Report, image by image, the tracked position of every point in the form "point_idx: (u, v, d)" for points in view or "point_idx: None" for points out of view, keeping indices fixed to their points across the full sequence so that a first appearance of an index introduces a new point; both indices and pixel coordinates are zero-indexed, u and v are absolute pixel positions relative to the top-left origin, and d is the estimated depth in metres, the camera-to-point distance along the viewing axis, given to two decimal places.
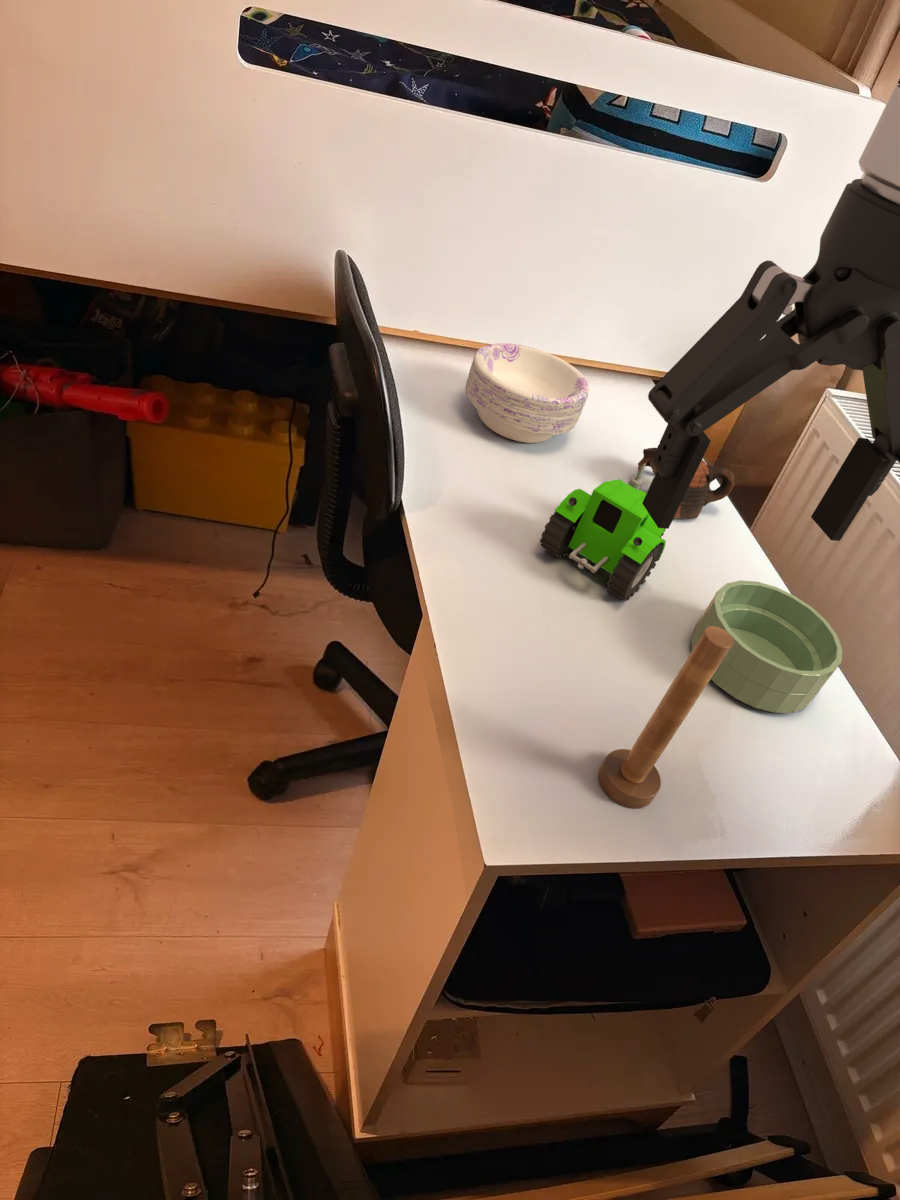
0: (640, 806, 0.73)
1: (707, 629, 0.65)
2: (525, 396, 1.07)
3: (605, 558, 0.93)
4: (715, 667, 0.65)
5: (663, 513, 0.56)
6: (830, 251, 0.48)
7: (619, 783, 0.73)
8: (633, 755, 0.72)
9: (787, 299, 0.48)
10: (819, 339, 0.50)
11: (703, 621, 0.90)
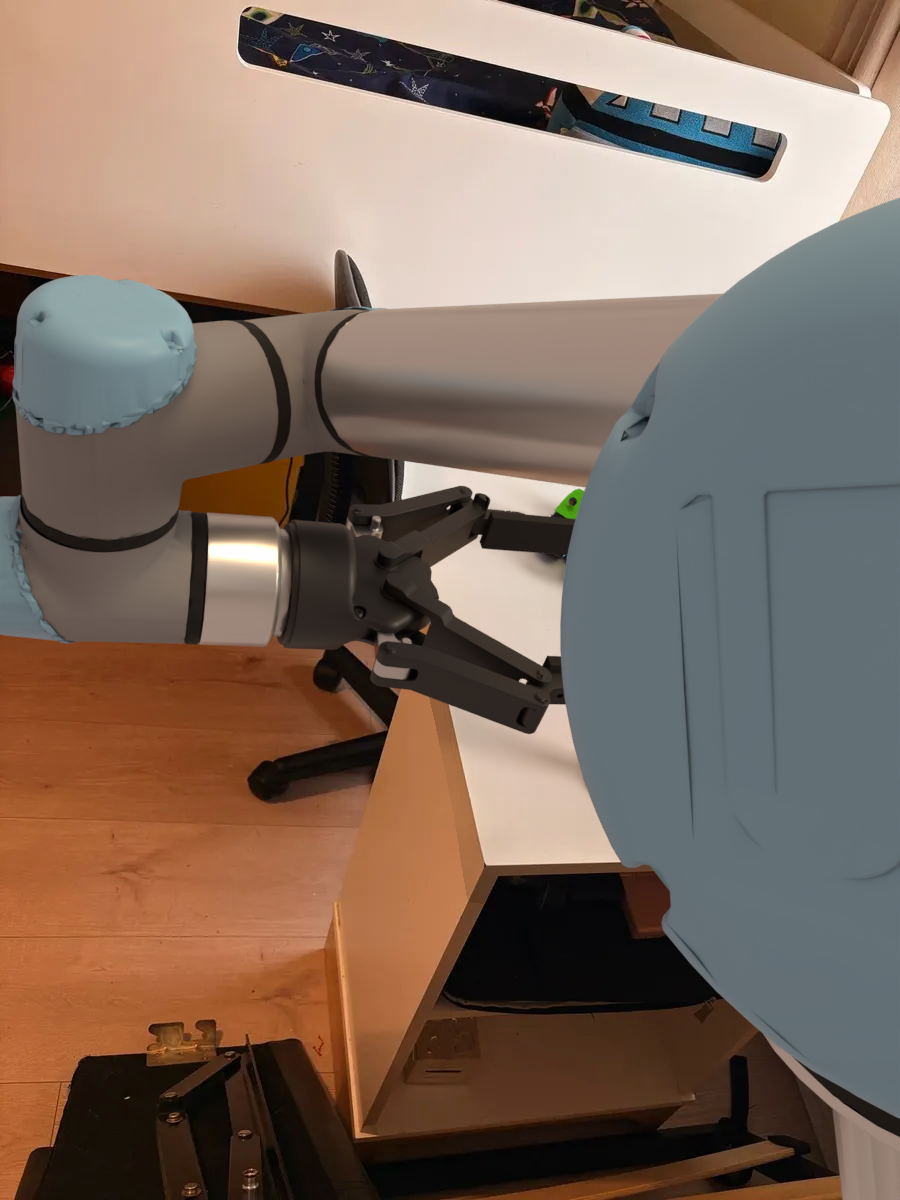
0: None
1: None
2: None
3: None
4: None
5: None
6: (344, 631, 0.51)
7: None
8: None
9: (398, 644, 0.49)
10: (419, 604, 0.52)
11: None
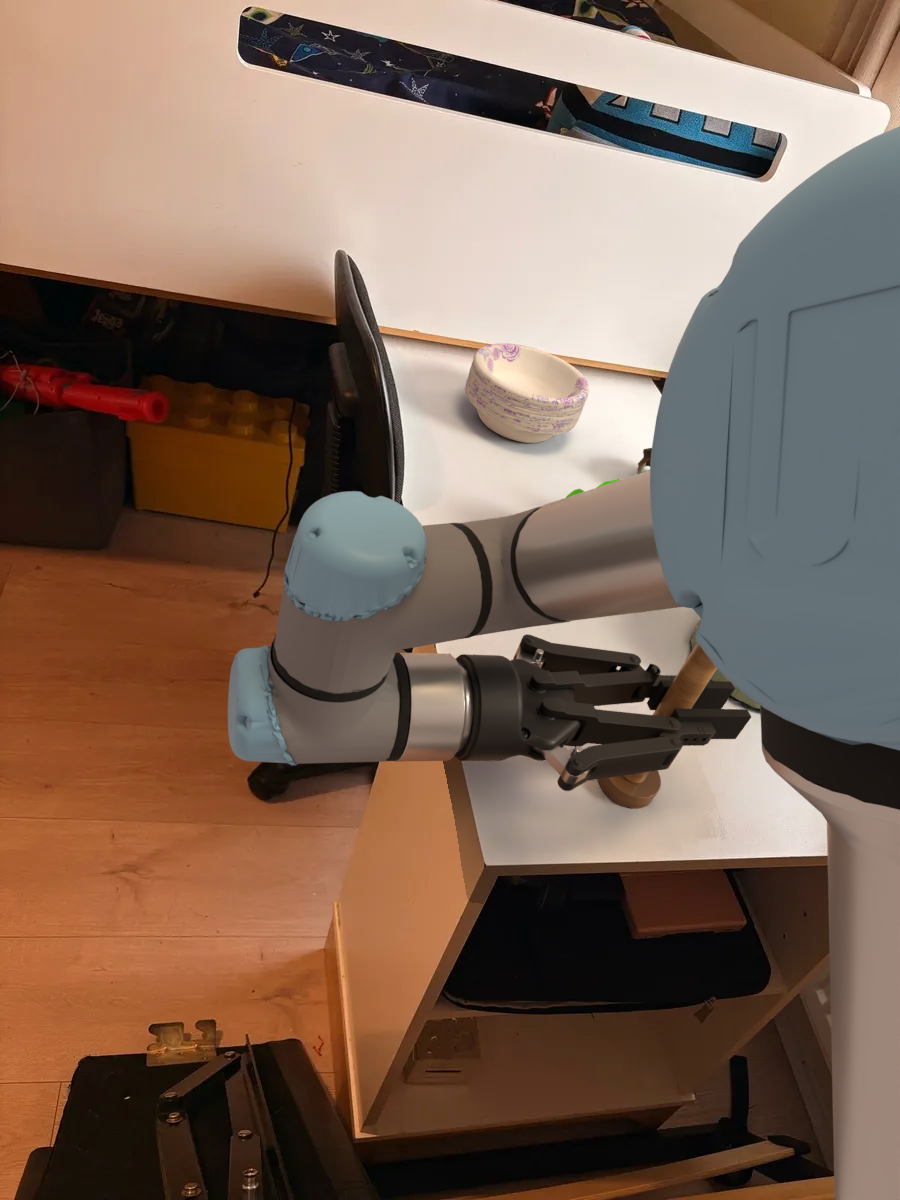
0: (640, 806, 0.73)
1: None
2: (525, 396, 1.07)
3: None
4: (715, 667, 0.65)
5: (739, 717, 0.69)
6: (512, 749, 0.62)
7: (619, 783, 0.73)
8: None
9: (578, 755, 0.61)
10: (577, 714, 0.64)
11: None
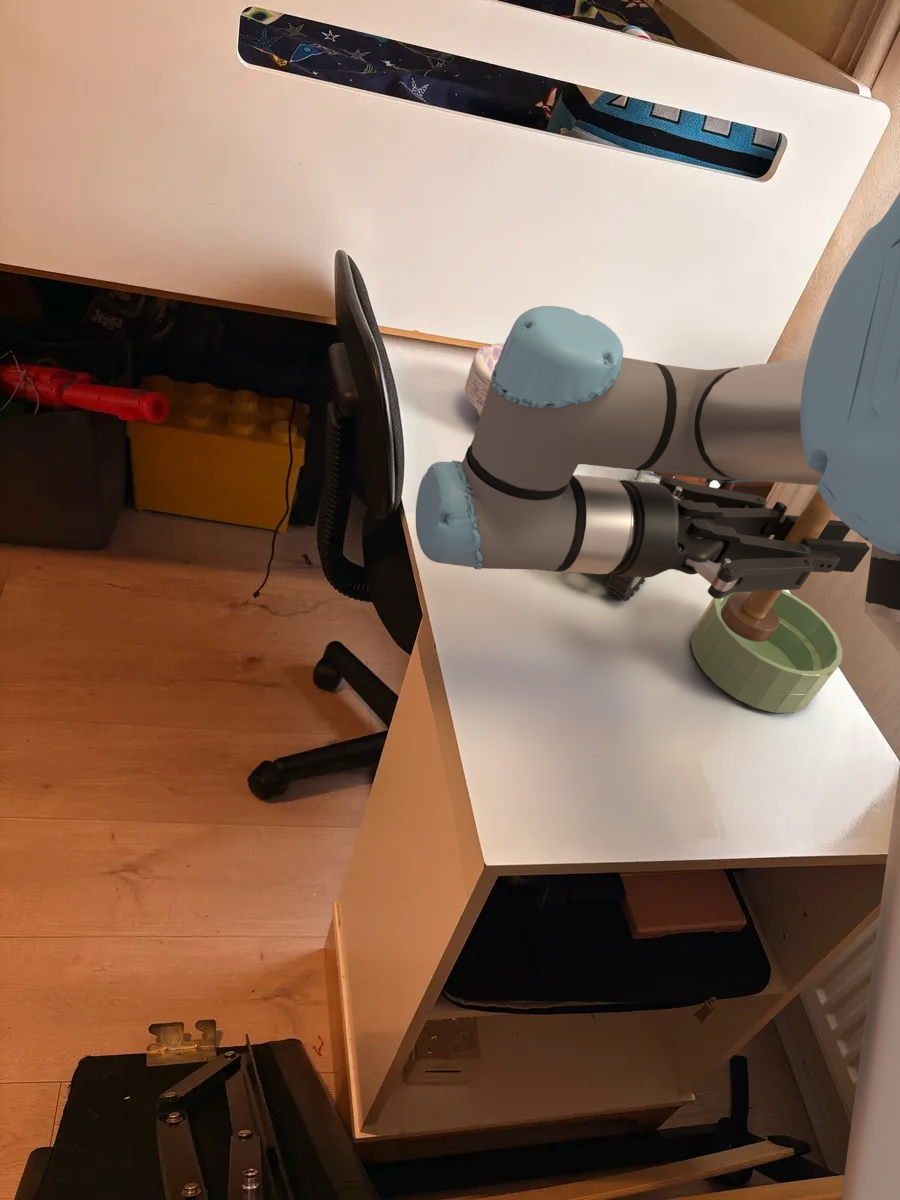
0: (762, 639, 0.80)
1: None
2: None
3: None
4: None
5: (859, 548, 0.76)
6: (668, 561, 0.69)
7: (744, 618, 0.80)
8: (757, 591, 0.79)
9: (728, 565, 0.68)
10: (723, 534, 0.71)
11: (703, 621, 0.90)
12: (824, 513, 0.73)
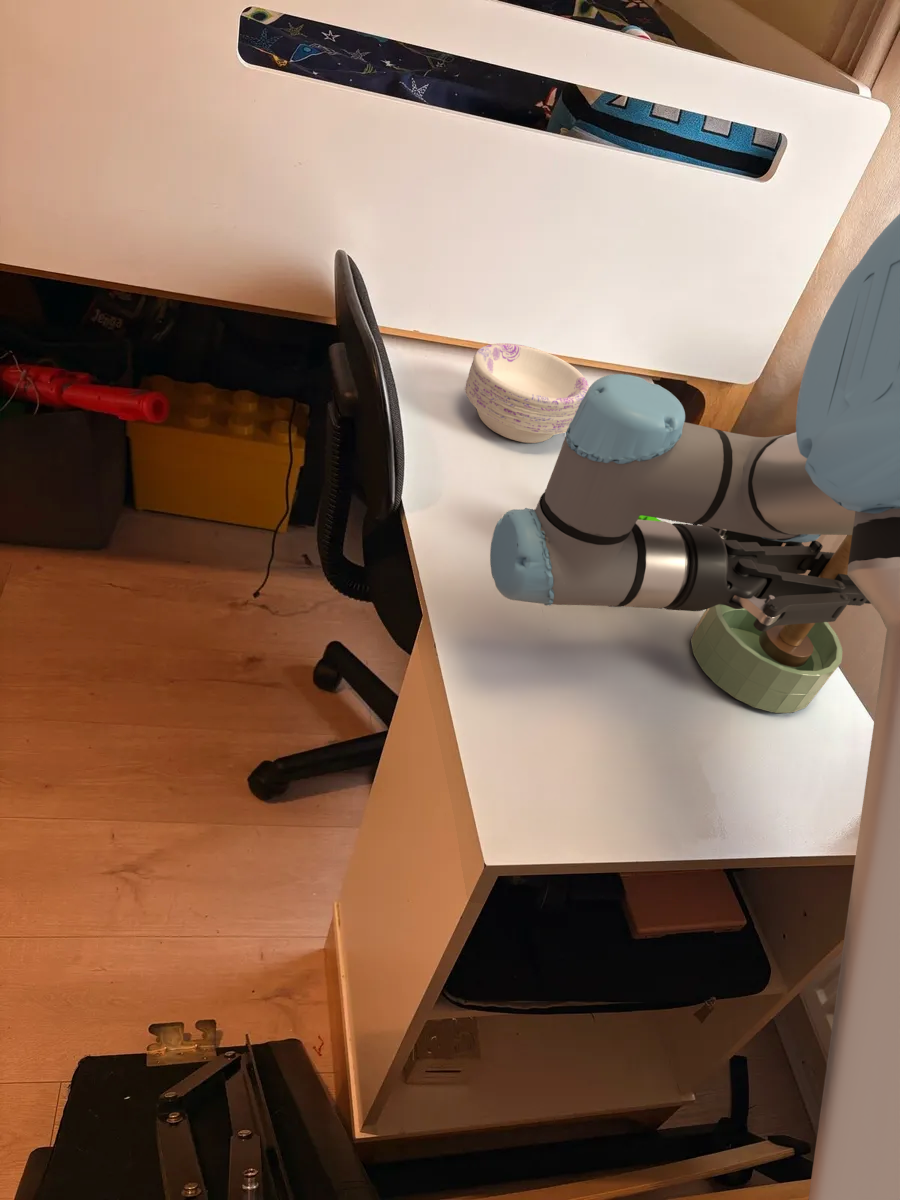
0: (797, 665, 0.88)
1: None
2: (525, 396, 1.07)
3: None
4: None
5: None
6: (718, 597, 0.76)
7: (781, 645, 0.87)
8: None
9: (772, 601, 0.75)
10: (766, 572, 0.78)
11: (703, 621, 0.90)
12: None
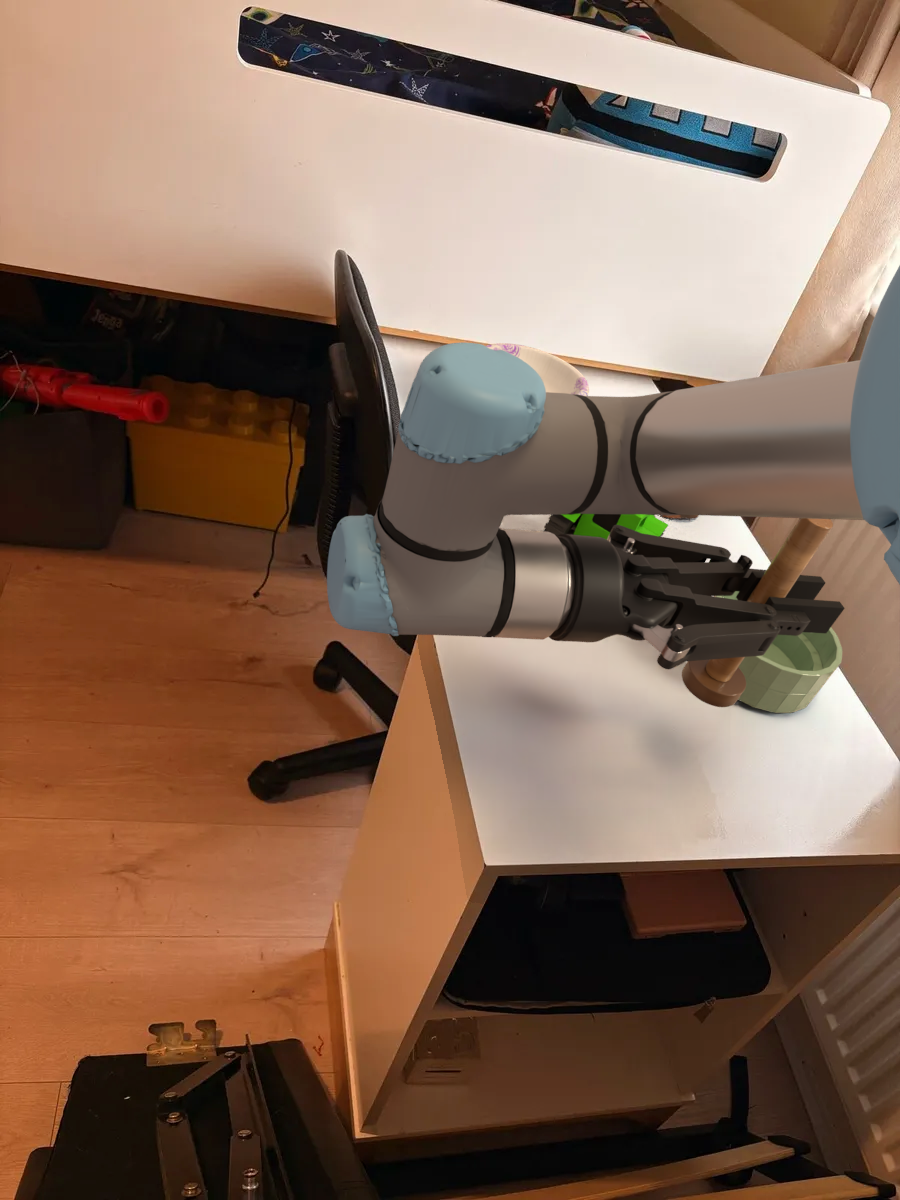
0: (726, 705, 0.73)
1: None
2: None
3: None
4: (814, 550, 0.64)
5: (832, 608, 0.68)
6: (612, 626, 0.61)
7: (706, 681, 0.72)
8: None
9: (679, 632, 0.61)
10: (676, 595, 0.63)
11: None
12: (791, 571, 0.65)
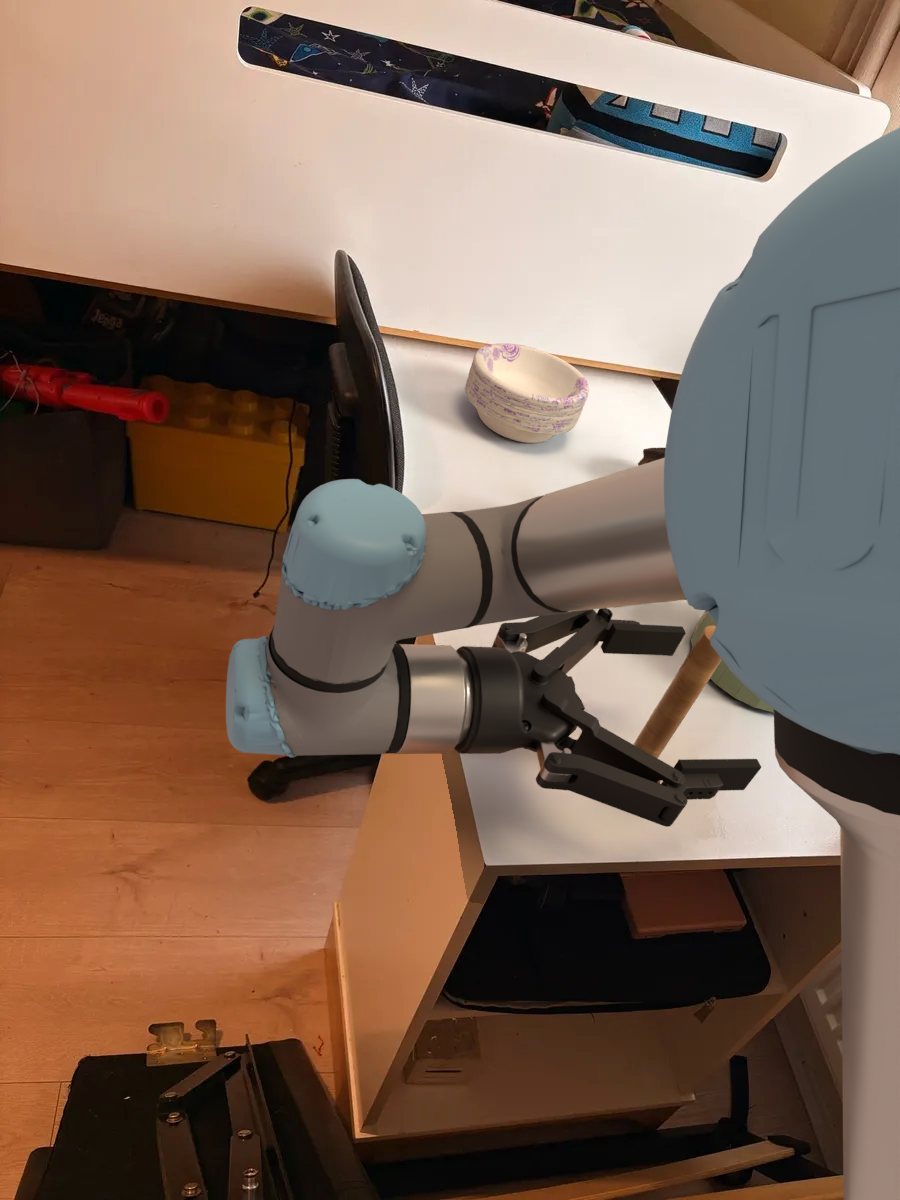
0: None
1: (706, 629, 0.65)
2: (525, 396, 1.07)
3: None
4: (715, 666, 0.65)
5: (748, 768, 0.64)
6: (513, 741, 0.61)
7: None
8: None
9: (561, 755, 0.60)
10: (573, 717, 0.62)
11: (703, 621, 0.90)
12: (694, 684, 0.66)
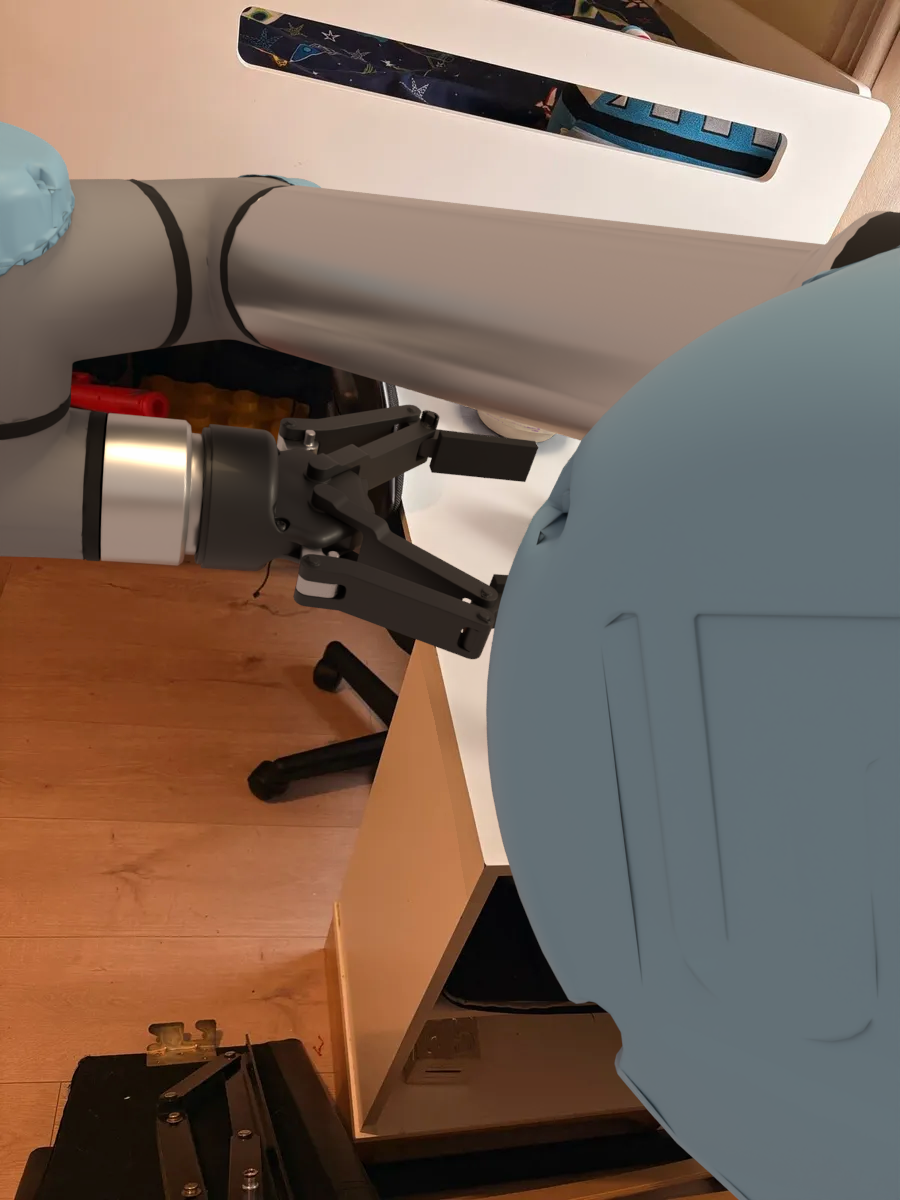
0: None
1: None
2: None
3: None
4: None
5: None
6: (265, 546, 0.45)
7: None
8: None
9: (323, 557, 0.44)
10: (351, 517, 0.46)
11: None
12: None
